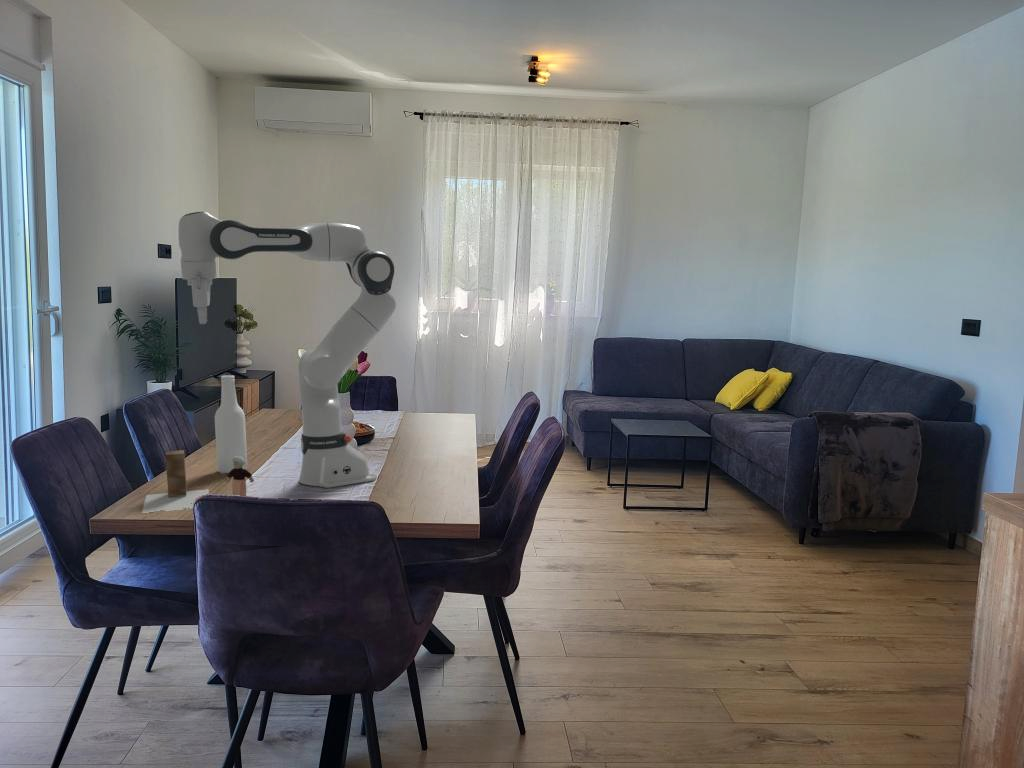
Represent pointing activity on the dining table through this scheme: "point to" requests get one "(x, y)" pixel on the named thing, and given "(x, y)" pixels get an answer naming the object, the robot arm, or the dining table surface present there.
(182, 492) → the walnut block
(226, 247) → the robot arm
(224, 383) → the alcohol
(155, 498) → the felt mat
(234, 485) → the grandmother figurine
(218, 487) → the dining table surface
